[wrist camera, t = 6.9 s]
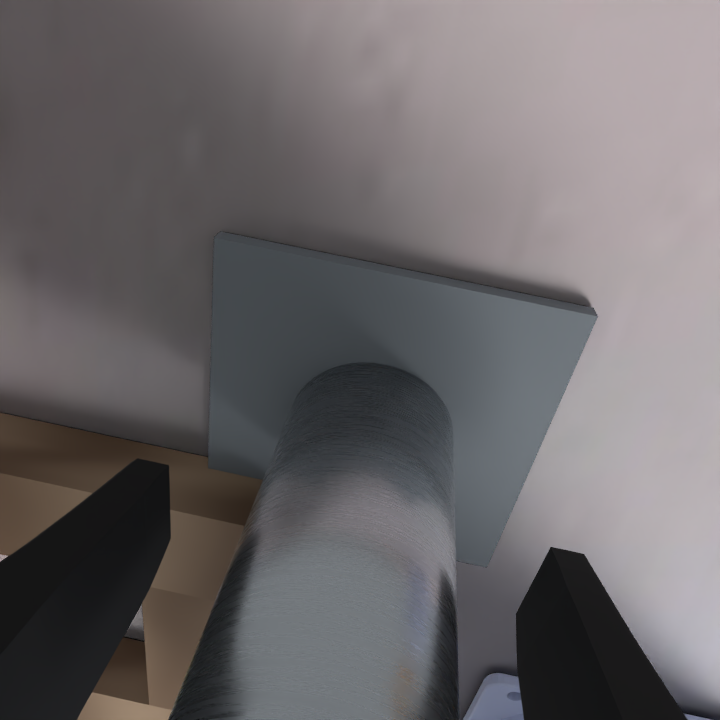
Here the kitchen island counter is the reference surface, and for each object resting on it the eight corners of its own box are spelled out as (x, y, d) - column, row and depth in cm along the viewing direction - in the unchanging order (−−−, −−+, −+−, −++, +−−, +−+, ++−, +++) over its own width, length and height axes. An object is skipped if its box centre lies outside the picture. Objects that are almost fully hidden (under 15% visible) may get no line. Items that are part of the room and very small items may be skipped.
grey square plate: (593, 307, 12) (597, 316, 11) (485, 556, 16) (486, 567, 16) (220, 231, 12) (213, 237, 12) (211, 496, 16) (206, 507, 16)
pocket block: (284, 473, 15) (264, 530, 14) (254, 712, 22) (238, 769, 21) (-173, 375, 16) (-248, 419, 14) (-63, 641, 23) (-104, 692, 21)
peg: (479, 393, 13) (518, 820, 6) (421, 510, 15) (401, 925, 8) (309, 340, 13) (150, 716, 6) (275, 466, 15) (129, 851, 8)
